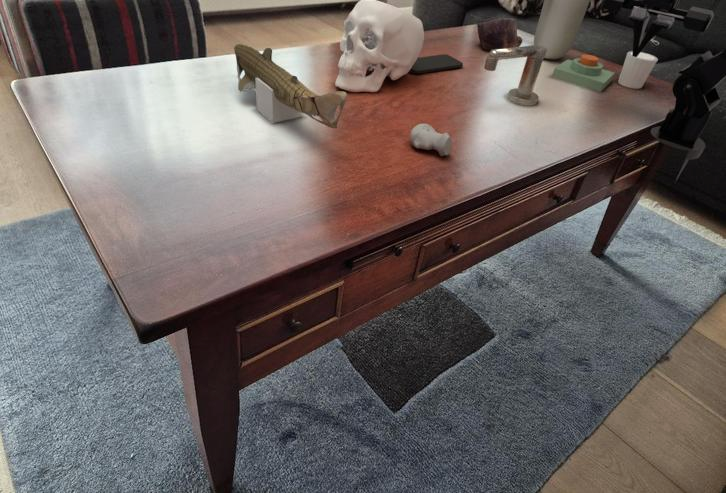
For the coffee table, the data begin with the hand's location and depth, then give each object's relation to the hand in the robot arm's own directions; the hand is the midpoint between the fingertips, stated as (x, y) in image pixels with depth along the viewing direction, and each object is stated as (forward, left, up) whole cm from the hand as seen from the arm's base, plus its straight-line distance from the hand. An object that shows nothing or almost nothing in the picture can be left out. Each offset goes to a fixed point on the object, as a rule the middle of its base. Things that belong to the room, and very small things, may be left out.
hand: (634, 56), depth 96 cm
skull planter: (+45, +25, -12) cm, 53 cm away
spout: (+19, +14, -4) cm, 24 cm away
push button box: (+11, -16, -12) cm, 23 cm away
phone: (+41, +7, -12) cm, 43 cm away
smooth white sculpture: (+20, +44, -12) cm, 50 cm away
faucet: (+17, +9, -12) cm, 22 cm away
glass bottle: (+23, -25, -12) cm, 36 cm away
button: (+11, -16, -8) cm, 21 cm away
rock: (+36, -18, -12) cm, 42 cm away
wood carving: (+45, +53, -12) cm, 71 cm away
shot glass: (+1, -23, -12) cm, 26 cm away
